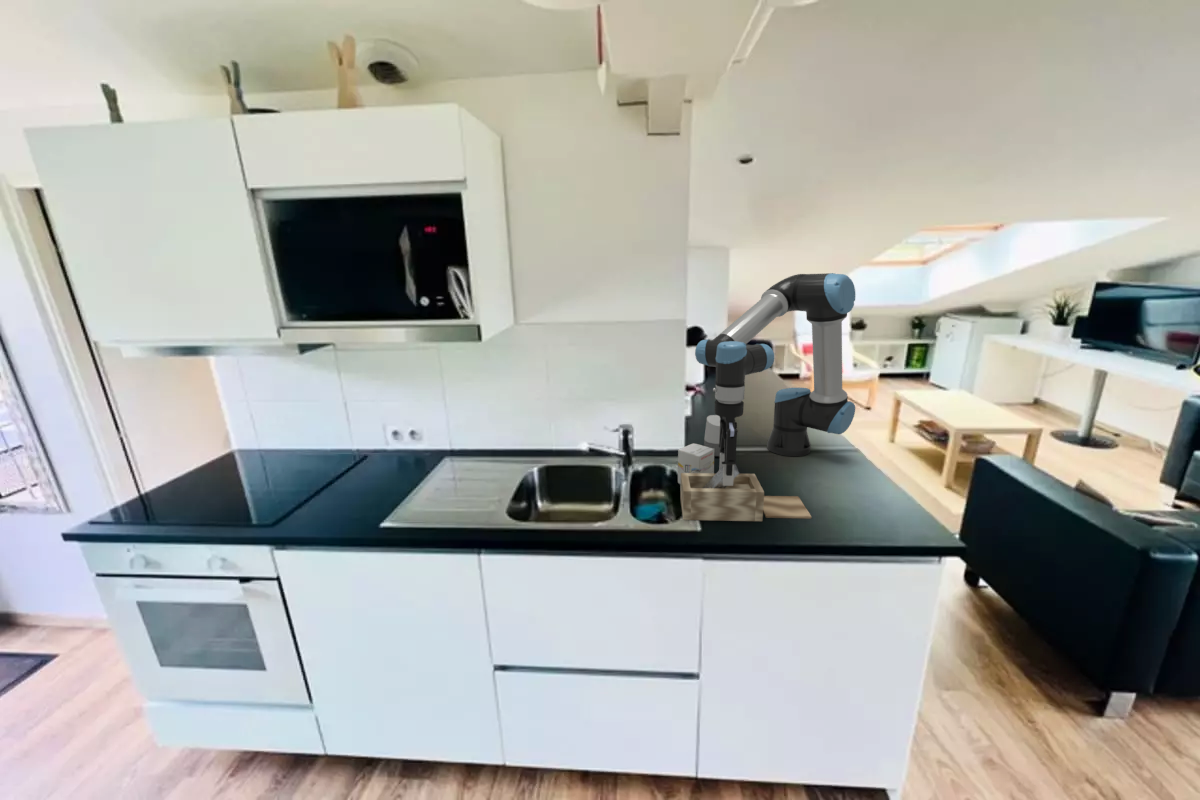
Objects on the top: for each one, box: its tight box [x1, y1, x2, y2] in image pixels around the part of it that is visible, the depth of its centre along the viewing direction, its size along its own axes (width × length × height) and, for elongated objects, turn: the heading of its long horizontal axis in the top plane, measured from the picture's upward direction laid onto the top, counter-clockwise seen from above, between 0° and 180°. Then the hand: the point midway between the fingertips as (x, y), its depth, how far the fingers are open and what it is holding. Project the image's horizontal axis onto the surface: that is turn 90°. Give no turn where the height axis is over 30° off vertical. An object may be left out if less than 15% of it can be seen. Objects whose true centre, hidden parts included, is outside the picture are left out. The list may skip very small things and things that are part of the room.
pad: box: [763, 495, 812, 519], centre depth 138 cm, size 12×12×1 cm
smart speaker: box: [703, 414, 722, 458], centre depth 177 cm, size 10×9×14 cm
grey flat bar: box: [703, 465, 740, 489], centre depth 136 cm, size 16×6×2 cm
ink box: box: [677, 443, 715, 485], centre depth 154 cm, size 9×8×12 cm
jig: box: [680, 472, 765, 522], centre depth 137 cm, size 21×12×9 cm, turn 85°
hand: (725, 479), depth 135 cm, fingers closed on grey flat bar, 6 cm apart
